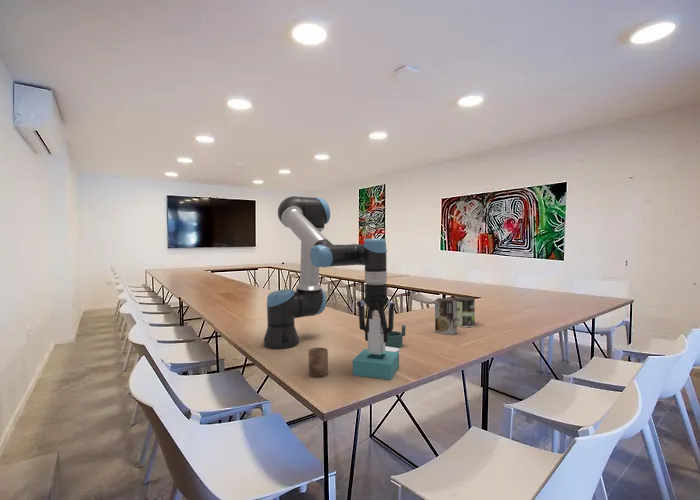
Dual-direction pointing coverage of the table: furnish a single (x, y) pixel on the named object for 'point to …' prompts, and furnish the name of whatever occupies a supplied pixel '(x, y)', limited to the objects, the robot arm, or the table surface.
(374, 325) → the square bit
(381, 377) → the socket block
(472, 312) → the coffee can
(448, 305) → the coffee box
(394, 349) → the external hard drive
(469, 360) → the table surface
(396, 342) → the bracket
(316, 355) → the round bit
